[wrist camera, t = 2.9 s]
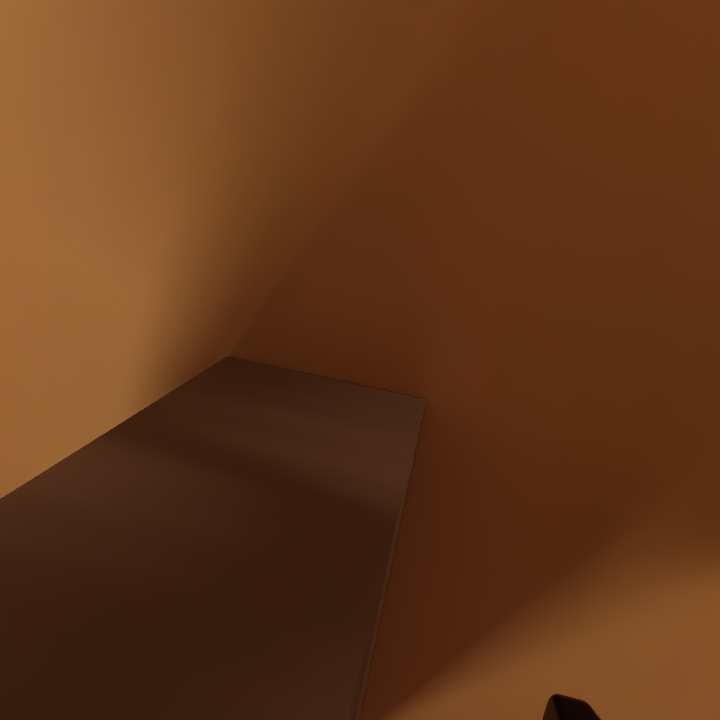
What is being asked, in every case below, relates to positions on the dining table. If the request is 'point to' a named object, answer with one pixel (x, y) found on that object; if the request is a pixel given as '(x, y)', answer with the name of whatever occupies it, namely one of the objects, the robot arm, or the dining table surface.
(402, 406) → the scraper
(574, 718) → the robot arm
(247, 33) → the dining table surface
